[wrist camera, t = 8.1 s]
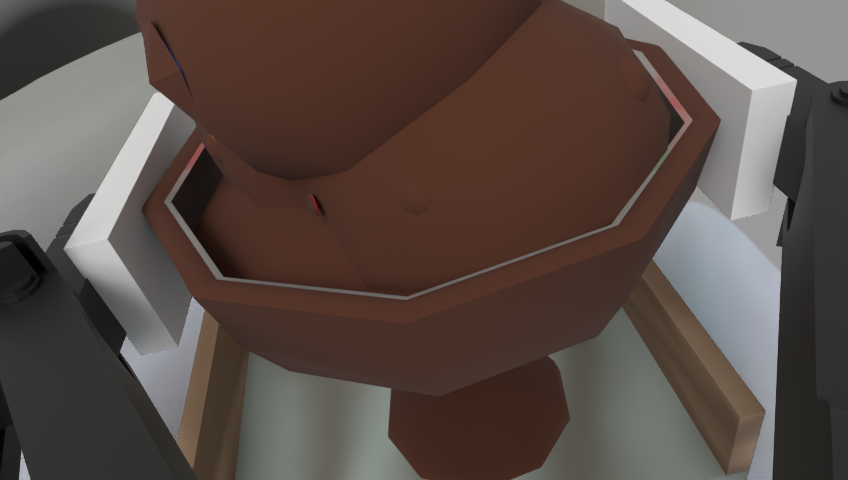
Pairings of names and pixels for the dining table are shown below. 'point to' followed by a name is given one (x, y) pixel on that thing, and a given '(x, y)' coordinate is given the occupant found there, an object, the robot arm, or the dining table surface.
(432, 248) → the ice cream bowl
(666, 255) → the dining table surface
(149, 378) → the dining table surface
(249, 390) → the bay
